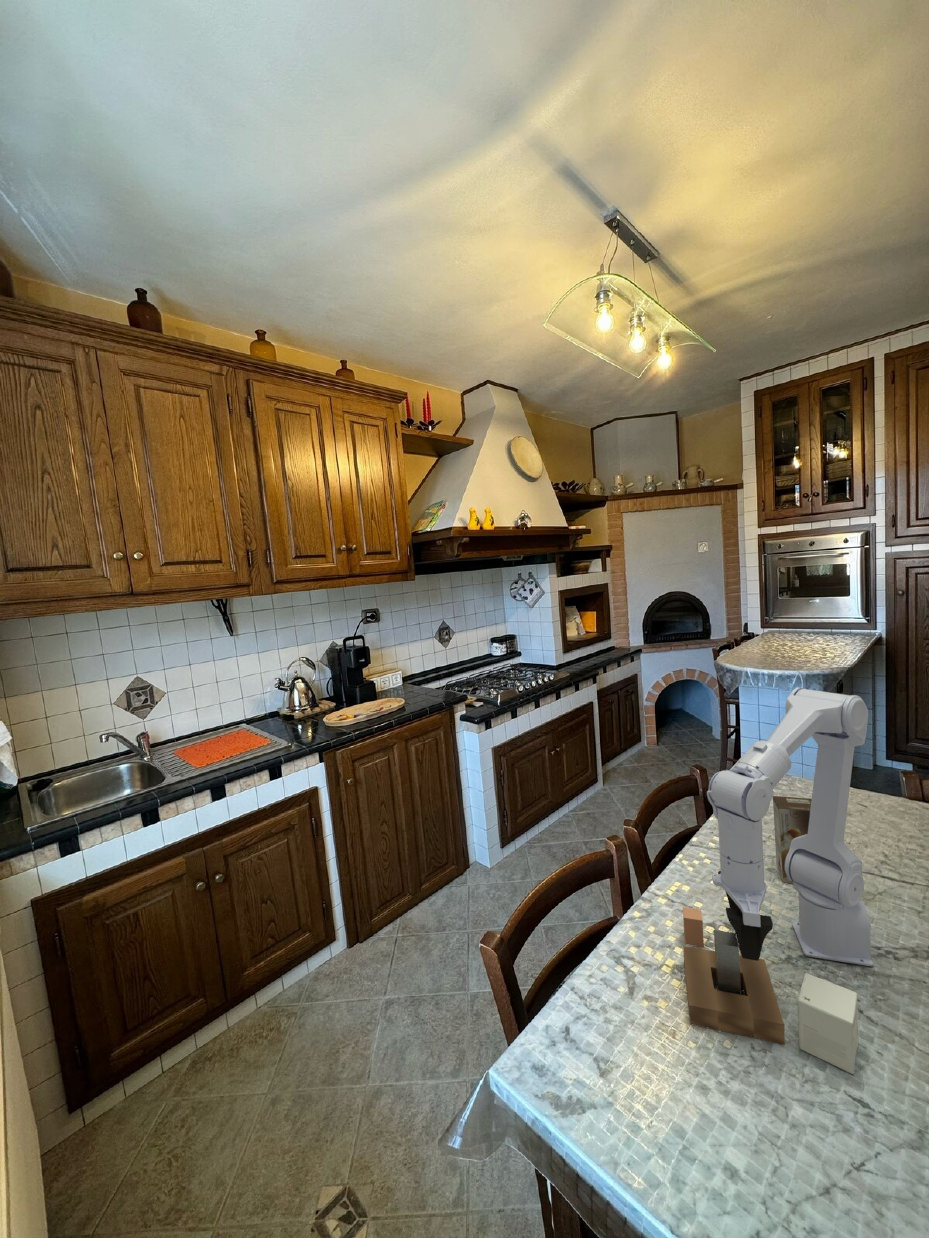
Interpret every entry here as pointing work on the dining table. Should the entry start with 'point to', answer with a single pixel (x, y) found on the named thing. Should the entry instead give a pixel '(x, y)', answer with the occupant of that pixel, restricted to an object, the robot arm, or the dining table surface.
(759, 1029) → the hole block
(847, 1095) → the dining table surface
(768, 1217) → the dining table surface
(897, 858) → the dining table surface
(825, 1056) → the product box
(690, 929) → the orange brown block
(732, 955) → the long metal pin
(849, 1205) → the dining table surface
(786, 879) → the coffee box
